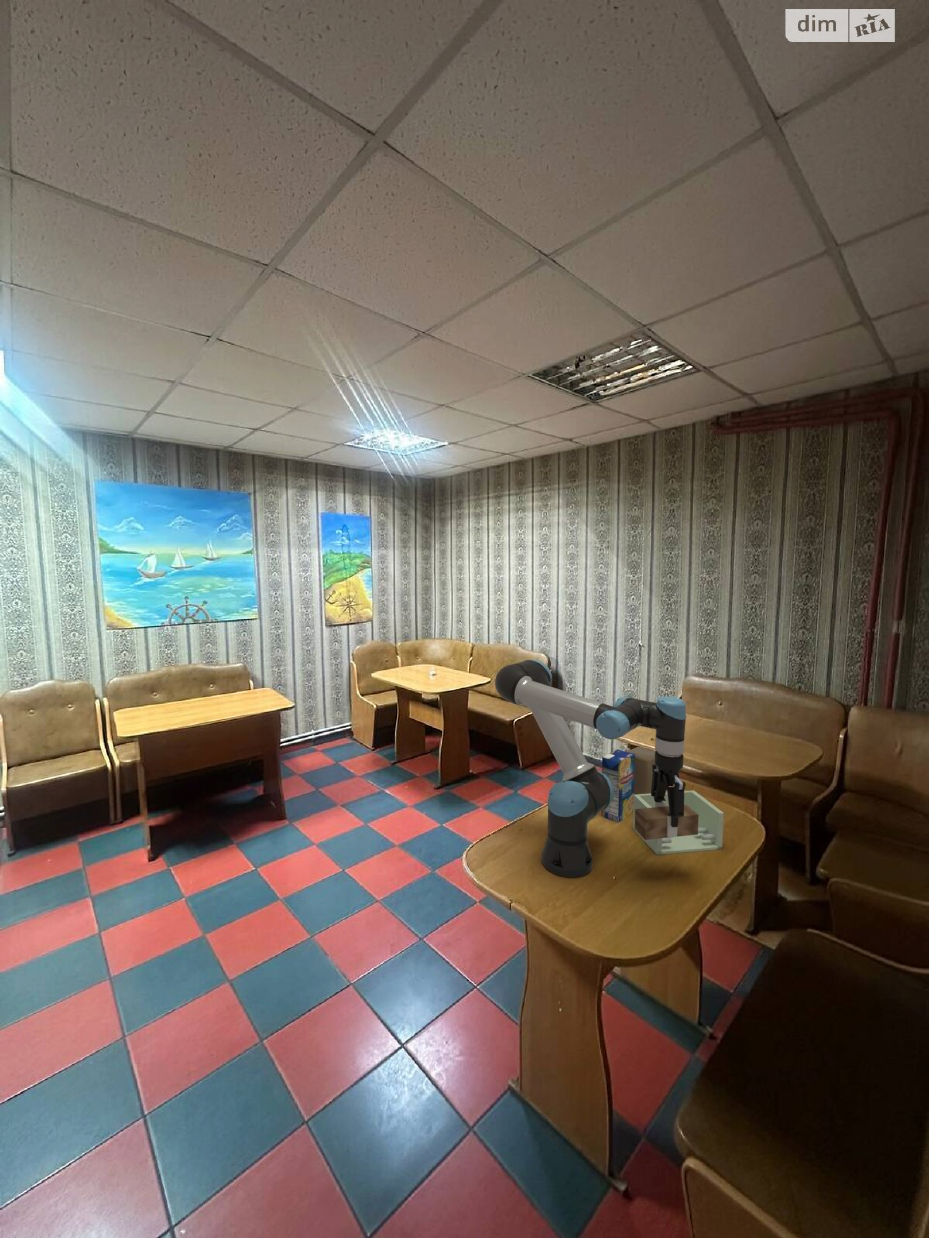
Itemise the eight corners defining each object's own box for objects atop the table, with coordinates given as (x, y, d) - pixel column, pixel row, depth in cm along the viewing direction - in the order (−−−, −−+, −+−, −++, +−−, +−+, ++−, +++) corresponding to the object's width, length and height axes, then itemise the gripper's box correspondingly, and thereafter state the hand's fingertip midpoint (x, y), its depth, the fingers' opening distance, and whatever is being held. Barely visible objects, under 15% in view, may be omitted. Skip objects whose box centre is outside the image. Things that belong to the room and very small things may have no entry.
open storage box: (656, 854, 154) (658, 817, 153) (632, 828, 170) (633, 794, 168) (722, 849, 157) (723, 812, 156) (692, 823, 173) (693, 790, 171)
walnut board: (645, 839, 138) (645, 819, 138) (634, 828, 144) (635, 809, 144) (697, 834, 141) (698, 814, 140) (685, 823, 147) (686, 804, 146)
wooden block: (637, 794, 195) (638, 745, 193) (660, 803, 187) (662, 752, 185) (622, 802, 189) (624, 751, 187) (646, 811, 181) (648, 759, 179)
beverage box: (600, 816, 178) (602, 757, 176) (616, 805, 186) (617, 749, 183) (618, 823, 173) (619, 762, 171) (633, 812, 181) (635, 754, 178)
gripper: (701, 765, 131) (697, 847, 134) (663, 739, 150) (660, 812, 152) (675, 766, 130) (671, 849, 133) (640, 741, 149) (637, 814, 151)
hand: (665, 829), depth 142 cm, fingers closed on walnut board, 6 cm apart
